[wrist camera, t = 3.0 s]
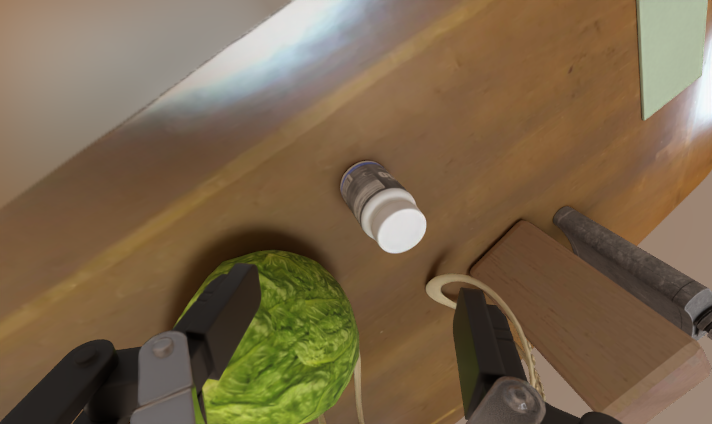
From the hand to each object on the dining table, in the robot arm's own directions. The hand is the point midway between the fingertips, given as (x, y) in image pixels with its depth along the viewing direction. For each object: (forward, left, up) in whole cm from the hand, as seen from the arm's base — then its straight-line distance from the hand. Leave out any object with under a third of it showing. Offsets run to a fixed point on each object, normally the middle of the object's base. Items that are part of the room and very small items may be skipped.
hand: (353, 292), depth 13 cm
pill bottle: (+1, +8, -17) cm, 19 cm away
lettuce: (+20, +3, -17) cm, 26 cm away
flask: (-4, +43, -17) cm, 47 cm away
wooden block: (+3, +34, -17) cm, 39 cm away
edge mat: (-27, +32, -17) cm, 45 cm away
